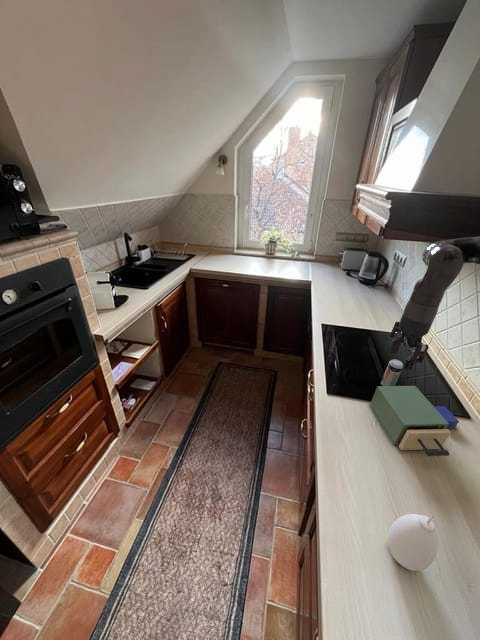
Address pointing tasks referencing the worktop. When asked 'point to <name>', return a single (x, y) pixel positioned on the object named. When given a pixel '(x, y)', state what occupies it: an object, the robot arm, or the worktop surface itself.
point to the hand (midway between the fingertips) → (399, 360)
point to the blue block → (447, 416)
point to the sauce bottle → (413, 541)
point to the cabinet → (404, 410)
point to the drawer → (425, 439)
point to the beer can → (392, 373)
